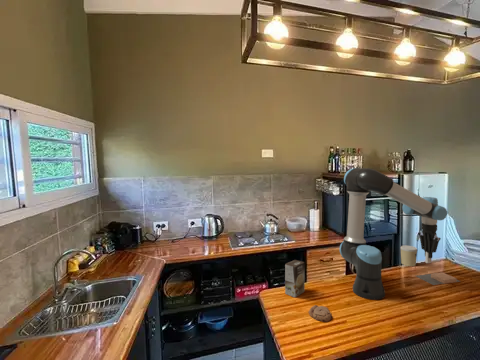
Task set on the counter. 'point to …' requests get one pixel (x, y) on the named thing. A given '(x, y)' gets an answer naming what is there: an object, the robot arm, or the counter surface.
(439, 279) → the tile
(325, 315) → the cookie
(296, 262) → the coffee box
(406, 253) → the coffee cup
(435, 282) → the slate board
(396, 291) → the counter surface
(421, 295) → the counter surface
